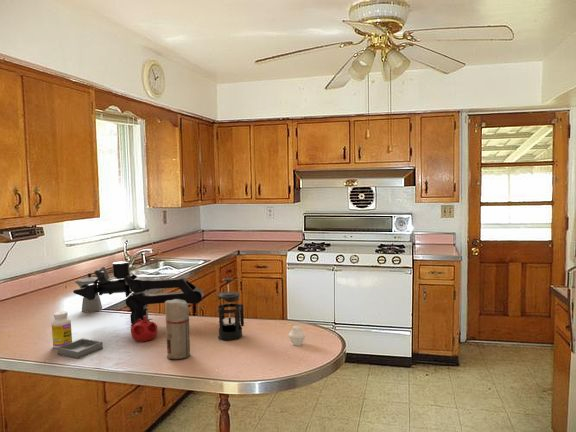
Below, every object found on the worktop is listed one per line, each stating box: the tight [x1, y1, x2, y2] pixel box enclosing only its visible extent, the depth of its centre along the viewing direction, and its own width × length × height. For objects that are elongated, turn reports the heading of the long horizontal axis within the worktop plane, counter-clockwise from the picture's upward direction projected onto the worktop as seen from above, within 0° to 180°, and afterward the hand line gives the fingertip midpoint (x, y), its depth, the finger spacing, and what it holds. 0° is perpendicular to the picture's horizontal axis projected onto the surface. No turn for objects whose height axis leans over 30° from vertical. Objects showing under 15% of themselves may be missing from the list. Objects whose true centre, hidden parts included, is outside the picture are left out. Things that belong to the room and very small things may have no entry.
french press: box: [216, 277, 245, 342], centre depth 183 cm, size 12×9×23 cm
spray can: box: [164, 299, 191, 360], centre depth 165 cm, size 8×8×20 cm
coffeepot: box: [74, 272, 103, 313], centre depth 230 cm, size 15×9×18 cm, turn 113°
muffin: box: [288, 325, 306, 347], centre depth 173 cm, size 6×6×7 cm
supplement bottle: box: [51, 310, 73, 349], centre depth 180 cm, size 7×7×13 cm
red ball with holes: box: [130, 316, 158, 343], centre depth 184 cm, size 10×10×9 cm
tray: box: [56, 338, 104, 360], centre depth 173 cm, size 11×11×2 cm
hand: (77, 289), depth 201 cm, fingers open, 9 cm apart
